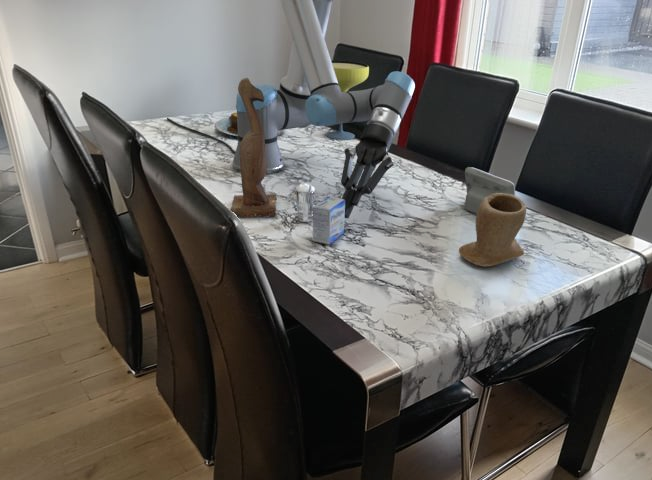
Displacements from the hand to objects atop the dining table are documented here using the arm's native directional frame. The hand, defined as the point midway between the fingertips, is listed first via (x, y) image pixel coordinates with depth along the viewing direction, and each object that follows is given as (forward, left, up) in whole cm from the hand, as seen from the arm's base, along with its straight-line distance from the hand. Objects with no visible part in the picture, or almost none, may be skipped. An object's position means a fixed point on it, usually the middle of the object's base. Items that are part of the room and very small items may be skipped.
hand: (343, 215), depth 136 cm
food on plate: (-87, +34, -4) cm, 94 cm away
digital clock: (+14, +40, -4) cm, 42 cm away
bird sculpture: (-23, -9, -4) cm, 25 cm away
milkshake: (-10, -3, -4) cm, 12 cm away
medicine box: (+1, -5, -4) cm, 7 cm away
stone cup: (+32, +17, -4) cm, 36 cm away
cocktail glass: (-65, +58, -4) cm, 87 cm away
